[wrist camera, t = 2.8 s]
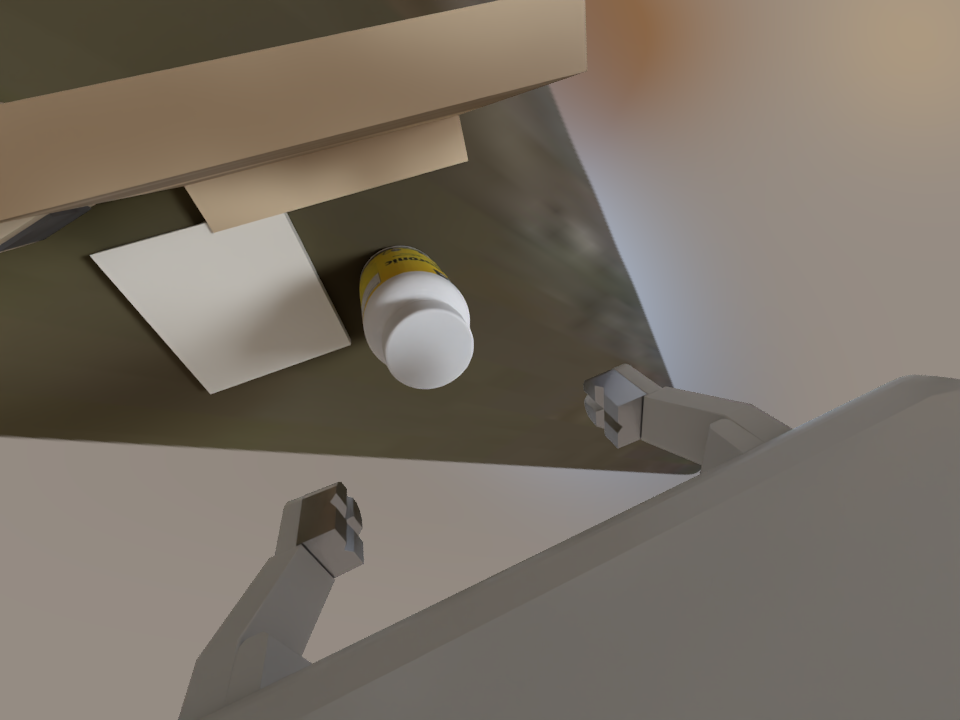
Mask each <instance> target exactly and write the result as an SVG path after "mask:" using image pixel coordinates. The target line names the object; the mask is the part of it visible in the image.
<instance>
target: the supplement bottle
mask: <svg viewBox="0 0 960 720" xmlns="http://www.w3.org/2000/svg"><path fill="white" fill-rule="evenodd" d="M359 293H360V301H361V310H362V319H363V328H364V333H365V337H366V340H367V343H368V345H369V347H370V349H371V350H372V352H373V353H374V354H375V355H376V357H377V358H378V359H379V360H381V361H382V362H383V363H384V364H386V365H387V367H388V369H389V370H390V372H391V373H392V375H393V376H394V377H395V378H396V379H397V380H398V381H400V382H401V383H403V384H405V385H407V386H410V387H413V388H418V389H432V388H437V387H441V386H443V385H446V384H448V383H450V382H452V381H453V380H455V379H456V378H457V377H458V376H460V375H461V374H462V372H463V371H464V370H465V369H466V368H467V366H468V364H469V362H470V360H471V358H472V354H473V348H474V341H473V336H472V333H471V330H470V328H469V327H470V315H469V310H468V307H467V304H466V301H465V299H464V298H463V296H462V294H461V293H460V292H459V290H458V289H457V287H456V286H455V285H454V284H453V283H452V282H451V281H450V280H449V279H448V277H447V276H446V275H445V274H444V273H443V272H442V270H441V269H440V268H439V267H438V266H437V265H436V263H435V262H434V261H433V260H432V259H431V258H430V257H428V256H427V255H426V254H425V253H423V252H421V251H420V250H417V249H415V248H412V247H408V246H393V247H388V248H385V249H383V250H381V251H379V252H377V253H376V254H375V255H373V256H372V257H371V258H370V259H369V260H368V262H367V263H366V265H365V266H364V268H363V270H362V273H361V277H360V283H359Z"/></svg>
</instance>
